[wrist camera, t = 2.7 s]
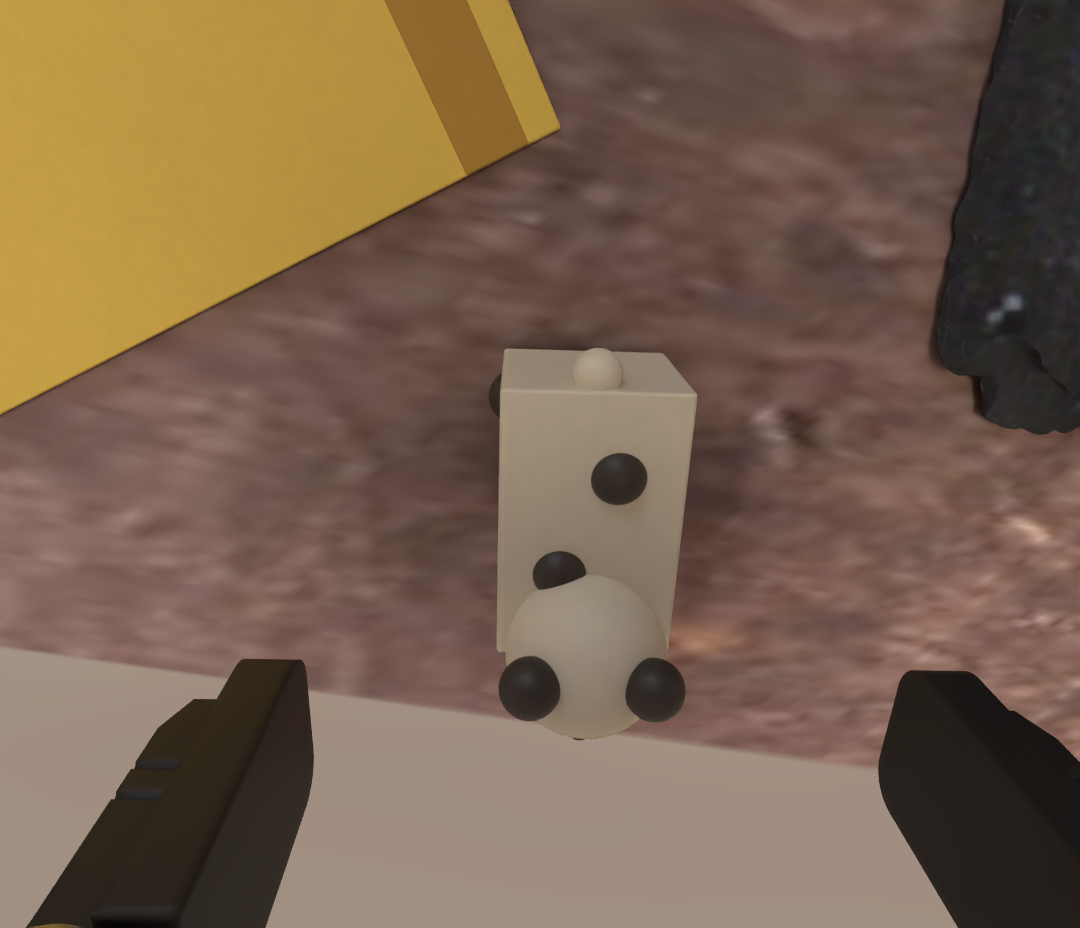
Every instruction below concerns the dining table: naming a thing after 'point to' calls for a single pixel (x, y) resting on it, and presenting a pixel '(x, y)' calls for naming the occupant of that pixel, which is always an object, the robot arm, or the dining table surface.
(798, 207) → the dining table surface
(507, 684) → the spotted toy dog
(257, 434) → the dining table surface
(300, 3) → the towel
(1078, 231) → the dark slate chunk
